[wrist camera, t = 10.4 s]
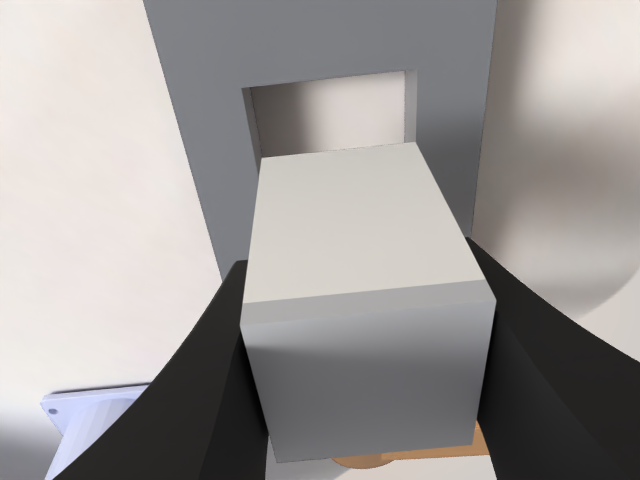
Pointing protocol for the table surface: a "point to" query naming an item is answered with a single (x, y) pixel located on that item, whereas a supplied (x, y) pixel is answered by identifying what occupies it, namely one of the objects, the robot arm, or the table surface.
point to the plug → (362, 307)
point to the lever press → (314, 64)
